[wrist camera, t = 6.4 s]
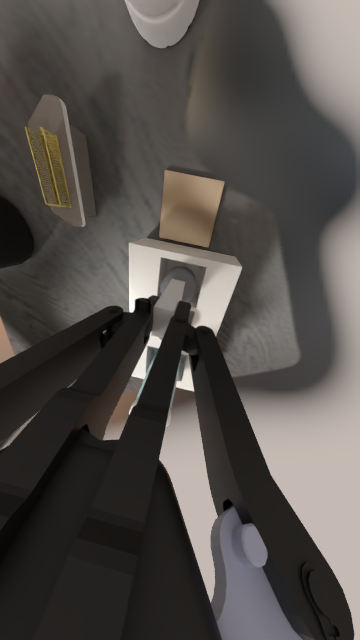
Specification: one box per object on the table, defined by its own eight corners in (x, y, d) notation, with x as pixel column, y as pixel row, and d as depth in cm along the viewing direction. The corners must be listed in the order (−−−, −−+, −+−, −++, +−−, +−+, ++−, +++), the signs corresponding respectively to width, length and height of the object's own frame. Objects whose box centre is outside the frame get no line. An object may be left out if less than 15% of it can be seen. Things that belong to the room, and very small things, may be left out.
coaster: (208, 246, 22) (208, 247, 22) (160, 236, 23) (159, 237, 22) (224, 182, 18) (224, 181, 18) (166, 171, 19) (164, 169, 18)
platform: (62, 246, 26) (24, 253, 21) (14, 56, 16) (-85, -28, 11) (133, 259, 25) (112, 270, 20) (127, 68, 16) (83, -15, 10)
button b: (194, 289, 24) (189, 309, 19) (169, 284, 24) (158, 302, 19) (200, 264, 22) (197, 278, 17) (173, 258, 22) (162, 270, 17)
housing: (196, 367, 36) (194, 391, 31) (141, 353, 36) (130, 375, 31) (235, 256, 22) (242, 267, 17) (146, 237, 23) (128, 242, 18)
